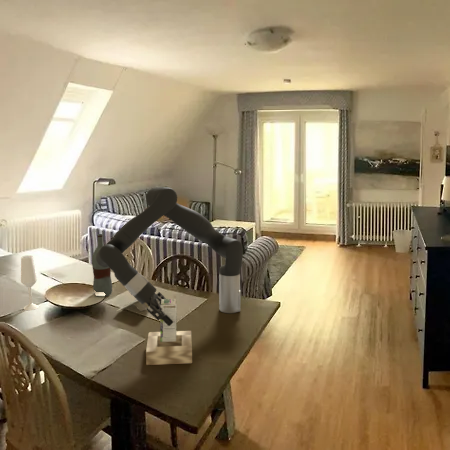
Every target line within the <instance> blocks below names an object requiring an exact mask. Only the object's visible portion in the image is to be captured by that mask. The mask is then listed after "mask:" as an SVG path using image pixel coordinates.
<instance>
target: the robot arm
mask: <svg viewBox="0 0 450 450" xmlns="http://www.w3.org/2000/svg"><path fill="white" fill-rule="evenodd" d="M145 201H146V203H147V205H148V207H147V208H146V209H144V210H143V211H142V212H140V213H139V214H137V215H135V216H134V217H133V218H131V219H130V220H128V221H127V222H126V223H124V224H123V225H122V227H121V228H119V230H117V232H115V234H114V235H113V237H112V238H111V239H110V240H108V242H106V243H105V244H103V246H102V247H101V248H100V250H99V251H98V253H97V255H96V261H97V263H98V264H99V265H100V266H102V267H110V269H111V271H112V272H113V273H114V277H115V279H116V280H117V281H118V282H119V283H120V284H121V285H122V286H124V288H125V289H126V290H127V291H128V292H129V293H130V295H132V297H133V298H134V299H135V300H136V299H137V300H138V301H139V302H140V303H141V304H144V303H147V305H148V306H149V307H148V308H147V309H145V310H146V311H147V312H148V314H150V315H151V316H152V317H154V318H155V319H156V320H157V321H159V320H160V319H162V320H163V321H164V322H165V323H166V324H167V325H168V326H170V325H171V324H172V323H173V321H172V320H171V319H170V318H169V317H168V316H167V315H166V314H165V312H164V311H162V308H161V307H160V305H161V300H162V299H167V297H165V296H164V295H163V293H162V292H160V291H158V293H156V291H157V288H156V287H155V286H154V285H153V284H152V283H151V282H150V281H149V280H148V279H147V278H146V277H145V276H144V275H142V273H140V272H139V271H138V270H137V269H136V268H135V267H134V266H133V265H132V264H131V263H129V260H128V259H127V258H126V257H125V255H124V254H123V253H125V251H126V250H128V249H129V248H130V247H131V246H132V245H133V244H134V243H135V242H136V241H137V240H138V239H139V237H141V236H142V235H143V233H145V231H146V230H148V229H149V228H150V227H151V226H152V225H153V224H154V223H156V222H157V221H158V220H160V218H162V217H163V216H164V217H166V218H167V219H169V220H170V221H172V222H173V223H174V224H176V225H177V226H178V227H180V228H181V229H182V230H183V231H185V232H187V234H189V235H191V236H192V237H194V238H195V239H197V240H198V241H200V242H202V243H204V244H206V245H208V246H209V248H211V249H212V251H214V252H215V253H216V254H217V255H218V256H220V257H222V258H225V259H224V261H225V263H224V264H223V265H220V267H219V268H218V269H219V273H218V274H219V276H218V279H219V281H218V284H219V287H218V288H219V292H218V293H219V299H218V300H219V301H218V302H219V304H218V308H219V311H220V312H222V313H224V314H235V313H238V312H241V269H242V266H243V254H244V250H243V249H244V248H243V244H242V242H241V241H240V240H238V239H236V238H232V237H230V236H227V235H225V234H222V233H221V232H220V231H217V230H216V229H215V227H214V225H213V224H212V223H211V221H210V220H208V218H206V216H204V215H202V214H201V213H200V212H197V210H194V209H191V208H189V207H188V206H187V207H186V206H184V205H182V204H179V202H178V194H177V192H176V191H175V189H173V188H172V187H167V186H165V187H164V186H162V187H161V186H158V187H154V188H150V189H149V190H148V191H147V193H145ZM160 311H161V312H160Z"/></svg>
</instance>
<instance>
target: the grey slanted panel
mask: <svg viewBox="0 0 450 450" xmlns="http://www.w3.org/2000/svg"><path fill="white" fill-rule="evenodd" d="M131 306H135V307H136V308H137V309H138V310H139V311H140V312H143V311H145V310H146V309H147V308H148V307H149V306H148V305H147V303H144V304H141V303H140V302H139V301H138V300H137V299H136V298H135V299H134V300H133V301H130V302H128V303H126V304H124V305H123V306H122V307H120V308H119V309H117V310H116V312H118V311H120V310H121V311H123V310H125V309H127V308H129V307H131Z"/></svg>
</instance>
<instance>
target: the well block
mask: <svg viewBox="0 0 450 450" xmlns="http://www.w3.org/2000/svg"><path fill="white" fill-rule="evenodd" d="M147 335H148V336H147V342H146V343H147V344H146V349H145V350H146V351H145V357H146V358H145V362H146V366H150V365H151V366H152V365H153V366H154V365H175V364H176V365H177V364H181V365H182V364H192V363H193V346H192V341H193V340H192V330H176V341H175V342H160V331H150V332H148V334H147Z"/></svg>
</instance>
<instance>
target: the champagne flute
mask: <svg viewBox="0 0 450 450" xmlns="http://www.w3.org/2000/svg"><path fill="white" fill-rule="evenodd" d="M20 266H21V267H20V283H21V284H22V286H25V287H26V288H28V290H27V291H28V300H29V301H28V302H29V303H28V304H26V305H25V306H24V307H23V310H25V311H33V310H36V309H38V308H39V307H40V306H39V305H38V304H35V303H33V295H32V294H33V293H32V287H33V286H34V285H35V284H36V283H37V280H38V279H37V278H38V277H37V273H36V267H35V263H34V257H33V255H22V256H21V257H20Z"/></svg>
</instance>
